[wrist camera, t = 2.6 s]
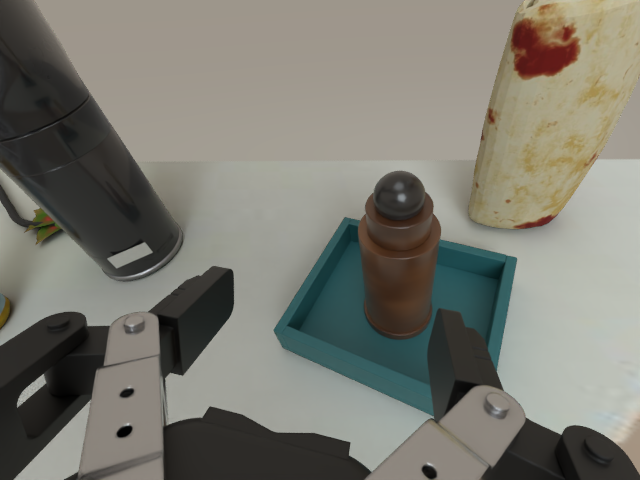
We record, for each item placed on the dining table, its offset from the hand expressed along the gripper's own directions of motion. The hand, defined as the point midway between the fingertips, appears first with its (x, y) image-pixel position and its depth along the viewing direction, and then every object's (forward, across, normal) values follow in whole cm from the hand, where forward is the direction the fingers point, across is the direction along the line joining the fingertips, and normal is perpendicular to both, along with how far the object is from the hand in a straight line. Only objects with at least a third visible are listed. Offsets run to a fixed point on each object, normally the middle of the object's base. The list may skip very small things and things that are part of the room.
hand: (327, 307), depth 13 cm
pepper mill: (+14, -4, +9) cm, 17 cm away
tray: (+15, -4, +9) cm, 18 cm away
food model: (+26, -15, +2) cm, 30 cm away
